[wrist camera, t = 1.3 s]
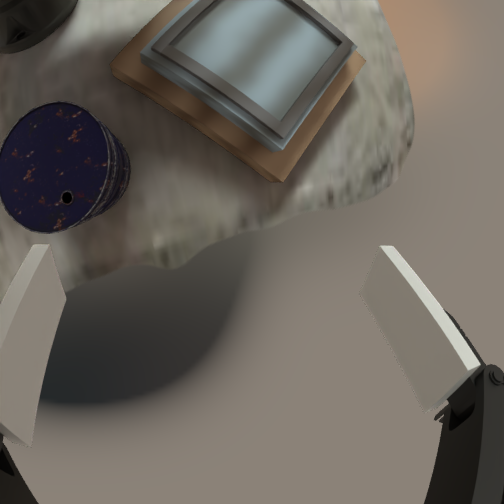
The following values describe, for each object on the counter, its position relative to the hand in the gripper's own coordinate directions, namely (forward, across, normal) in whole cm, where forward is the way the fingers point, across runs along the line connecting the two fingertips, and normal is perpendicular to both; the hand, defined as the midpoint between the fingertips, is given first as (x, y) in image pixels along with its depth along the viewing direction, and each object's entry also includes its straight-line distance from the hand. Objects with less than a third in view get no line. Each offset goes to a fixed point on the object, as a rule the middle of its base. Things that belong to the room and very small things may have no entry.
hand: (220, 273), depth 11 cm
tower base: (+32, +5, +8) cm, 33 cm away
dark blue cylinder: (+25, -13, -5) cm, 28 cm away
